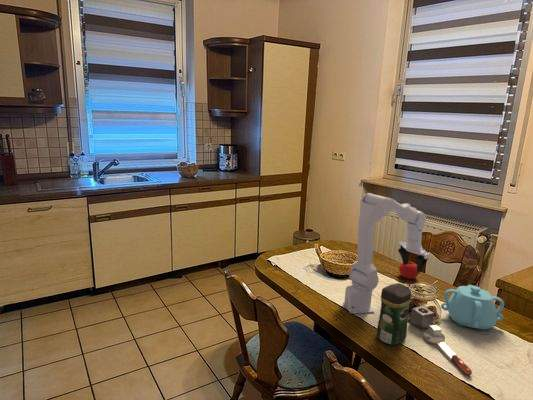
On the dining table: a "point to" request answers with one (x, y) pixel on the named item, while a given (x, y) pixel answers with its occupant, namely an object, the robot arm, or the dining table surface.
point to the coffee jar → (394, 314)
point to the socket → (421, 318)
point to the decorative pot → (473, 307)
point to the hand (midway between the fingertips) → (412, 267)
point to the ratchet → (444, 347)
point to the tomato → (409, 270)
